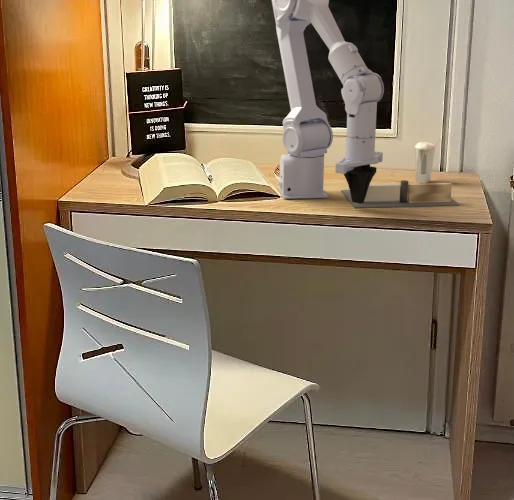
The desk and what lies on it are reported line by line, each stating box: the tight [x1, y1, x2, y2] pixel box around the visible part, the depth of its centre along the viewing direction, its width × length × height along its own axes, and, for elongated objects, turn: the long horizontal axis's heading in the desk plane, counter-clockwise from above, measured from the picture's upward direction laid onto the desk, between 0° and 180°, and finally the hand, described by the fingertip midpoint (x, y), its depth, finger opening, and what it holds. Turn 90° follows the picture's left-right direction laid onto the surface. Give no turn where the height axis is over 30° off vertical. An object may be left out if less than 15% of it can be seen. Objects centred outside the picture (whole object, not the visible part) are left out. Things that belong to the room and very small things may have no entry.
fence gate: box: [364, 183, 401, 201], centre depth 187 cm, size 9×1×3 cm, turn 97°
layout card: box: [340, 189, 460, 209], centre depth 192 cm, size 22×14×1 cm, turn 97°
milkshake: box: [414, 138, 441, 183], centre depth 205 cm, size 5×5×10 cm
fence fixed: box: [399, 179, 453, 203], centre depth 188 cm, size 11×2×4 cm, turn 97°
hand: (358, 202), depth 183 cm, fingers closed
